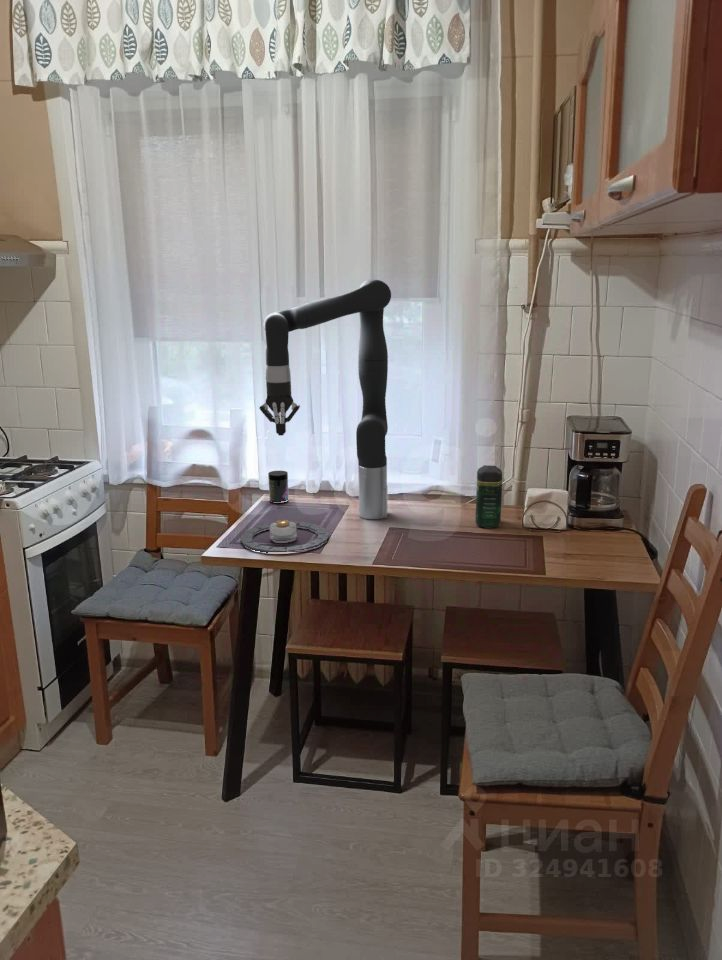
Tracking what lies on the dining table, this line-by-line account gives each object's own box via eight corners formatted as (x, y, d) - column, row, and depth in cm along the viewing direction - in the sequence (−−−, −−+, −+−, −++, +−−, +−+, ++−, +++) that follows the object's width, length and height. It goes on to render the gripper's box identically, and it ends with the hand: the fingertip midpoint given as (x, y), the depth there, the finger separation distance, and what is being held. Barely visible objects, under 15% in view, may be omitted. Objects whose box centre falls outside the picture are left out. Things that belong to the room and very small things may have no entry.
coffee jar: (501, 529, 245) (503, 471, 240) (475, 528, 246) (477, 471, 241) (500, 519, 254) (502, 463, 249) (475, 518, 255) (476, 463, 250)
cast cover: (298, 535, 243) (297, 517, 241) (294, 544, 235) (294, 526, 234) (272, 534, 243) (271, 517, 242) (268, 543, 236) (267, 525, 234)
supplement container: (281, 505, 272) (280, 476, 269) (265, 503, 275) (264, 474, 272) (292, 500, 278) (291, 471, 275) (276, 497, 281) (275, 469, 278)
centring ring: (332, 525, 250) (332, 522, 250) (321, 555, 226) (321, 551, 225) (252, 524, 253) (252, 521, 252) (232, 553, 228) (232, 550, 227)
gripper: (301, 377, 245) (303, 432, 250) (259, 378, 246) (262, 432, 251) (297, 381, 238) (300, 437, 242) (254, 381, 239) (257, 437, 244)
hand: (281, 434), depth 247 cm, fingers closed
